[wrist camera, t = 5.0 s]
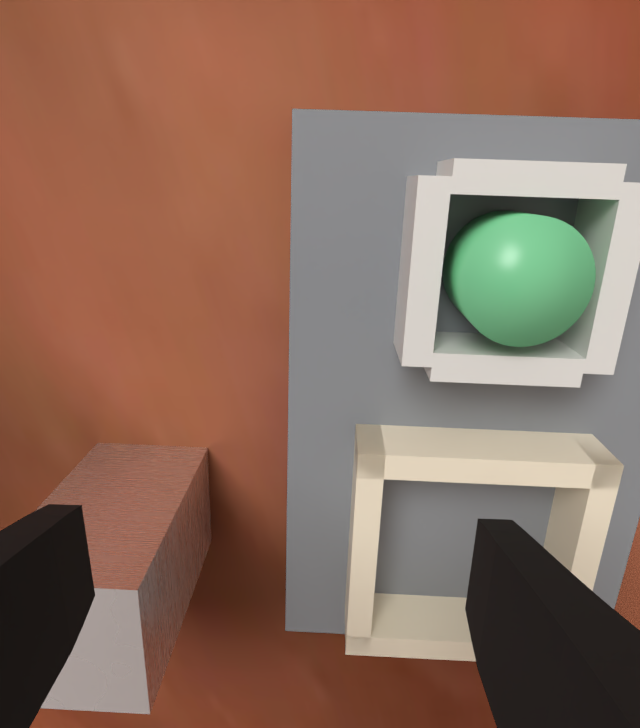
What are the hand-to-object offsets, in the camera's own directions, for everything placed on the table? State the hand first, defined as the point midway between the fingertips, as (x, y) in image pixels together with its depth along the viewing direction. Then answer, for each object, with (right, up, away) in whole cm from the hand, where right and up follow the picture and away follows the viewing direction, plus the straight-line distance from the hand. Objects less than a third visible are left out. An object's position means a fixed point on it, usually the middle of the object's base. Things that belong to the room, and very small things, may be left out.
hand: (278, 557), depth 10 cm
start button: (+6, +6, +5) cm, 10 cm away
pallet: (+6, +2, +8) cm, 10 cm away
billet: (-5, -1, +10) cm, 11 cm away
